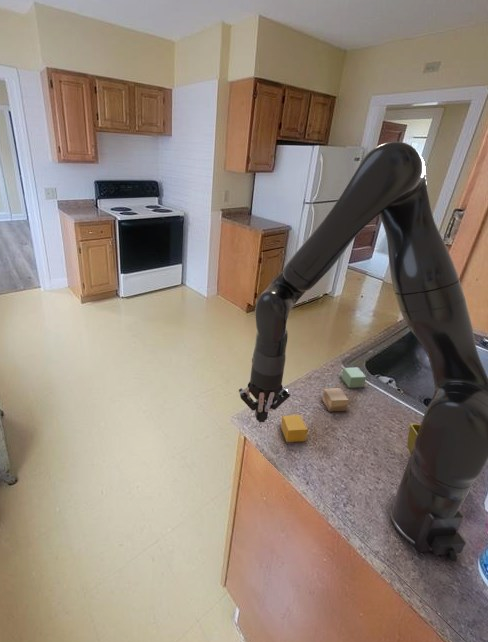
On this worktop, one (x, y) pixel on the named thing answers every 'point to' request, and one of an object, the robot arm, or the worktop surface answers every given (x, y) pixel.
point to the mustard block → (293, 428)
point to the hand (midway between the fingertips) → (260, 419)
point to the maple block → (335, 399)
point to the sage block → (353, 377)
